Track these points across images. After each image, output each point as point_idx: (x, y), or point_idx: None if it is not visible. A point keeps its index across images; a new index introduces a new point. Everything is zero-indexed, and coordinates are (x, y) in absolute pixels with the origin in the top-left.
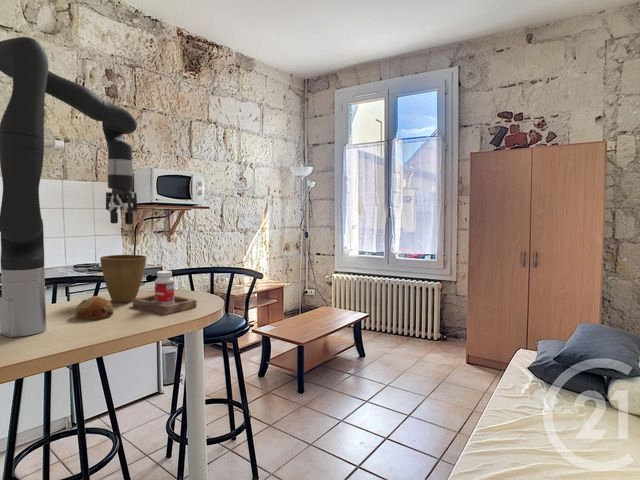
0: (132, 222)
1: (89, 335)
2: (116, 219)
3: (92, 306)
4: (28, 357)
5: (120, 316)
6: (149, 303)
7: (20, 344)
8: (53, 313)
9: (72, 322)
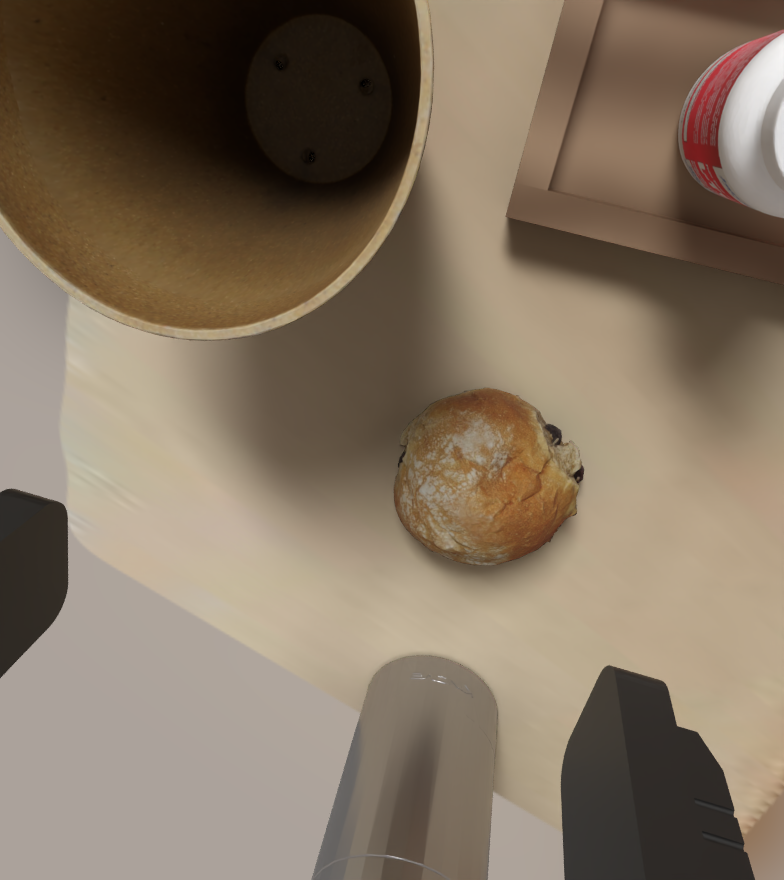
0: (667, 697)
1: (708, 685)
2: (3, 569)
3: (523, 553)
4: None
5: (616, 428)
6: (710, 266)
7: (550, 791)
8: (257, 493)
9: (478, 575)
